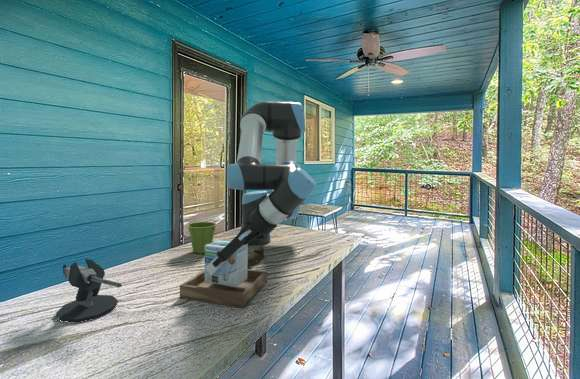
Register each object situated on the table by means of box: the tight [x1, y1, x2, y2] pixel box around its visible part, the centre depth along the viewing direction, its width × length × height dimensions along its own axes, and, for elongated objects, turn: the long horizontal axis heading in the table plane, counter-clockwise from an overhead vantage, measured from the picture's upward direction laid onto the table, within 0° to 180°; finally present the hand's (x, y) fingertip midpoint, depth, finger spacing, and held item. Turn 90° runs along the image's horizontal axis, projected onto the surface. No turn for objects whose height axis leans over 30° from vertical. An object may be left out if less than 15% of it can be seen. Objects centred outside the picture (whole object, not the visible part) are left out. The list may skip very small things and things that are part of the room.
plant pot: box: [186, 221, 218, 254], centre depth 121 cm, size 12×12×11 cm
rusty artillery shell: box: [247, 246, 265, 269], centre depth 107 cm, size 19×4×5 cm, turn 156°
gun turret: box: [55, 258, 123, 323], centre depth 72 cm, size 13×20×13 cm, turn 68°
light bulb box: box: [204, 239, 249, 287], centre depth 85 cm, size 11×7×11 cm, turn 72°
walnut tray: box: [179, 268, 268, 309], centre depth 86 cm, size 17×19×4 cm
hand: (215, 266), depth 86 cm, fingers closed on light bulb box, 7 cm apart
